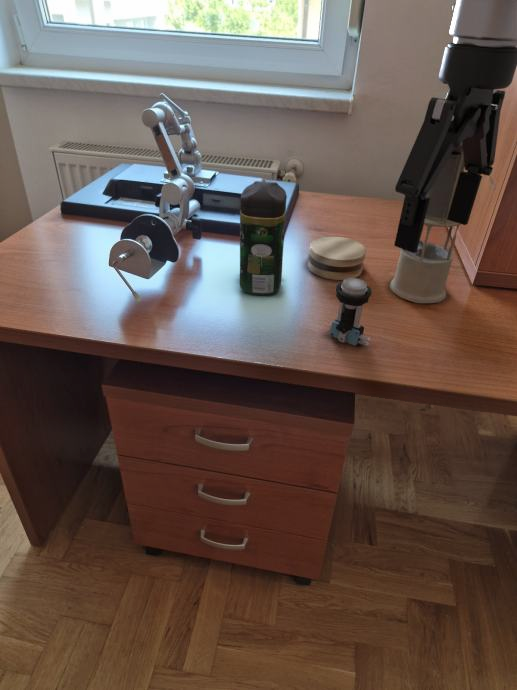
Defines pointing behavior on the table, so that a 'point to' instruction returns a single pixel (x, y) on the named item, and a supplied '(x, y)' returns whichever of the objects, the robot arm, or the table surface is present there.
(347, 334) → the push button
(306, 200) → the table surface
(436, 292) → the lamp
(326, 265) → the wooden yo-yo
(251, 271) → the coffee jar
